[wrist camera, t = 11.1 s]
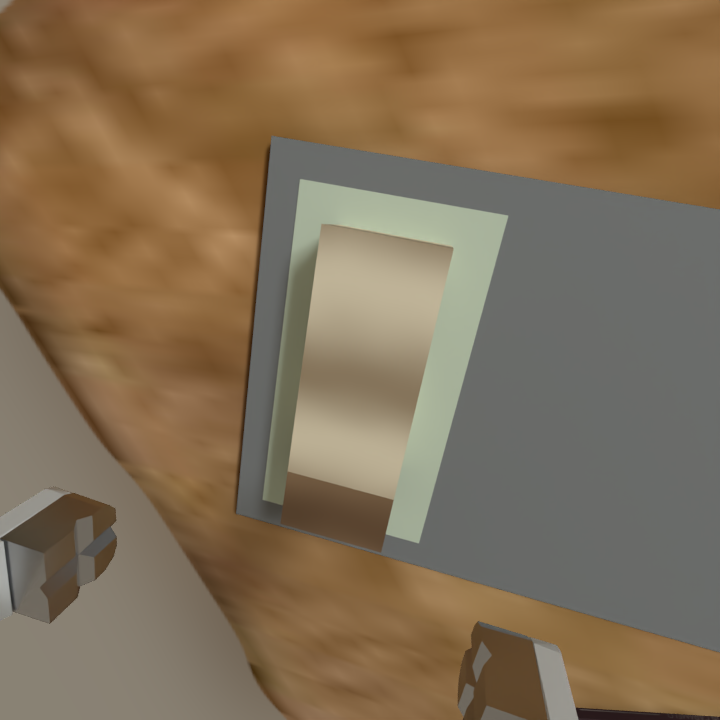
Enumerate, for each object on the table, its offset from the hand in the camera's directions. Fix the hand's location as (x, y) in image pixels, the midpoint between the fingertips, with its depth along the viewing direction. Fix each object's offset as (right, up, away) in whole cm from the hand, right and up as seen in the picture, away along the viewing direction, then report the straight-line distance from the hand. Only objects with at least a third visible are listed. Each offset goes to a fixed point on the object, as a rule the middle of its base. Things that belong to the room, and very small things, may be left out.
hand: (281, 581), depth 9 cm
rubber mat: (+10, +2, +11) cm, 15 cm away
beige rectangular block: (+2, +4, +12) cm, 12 cm away
